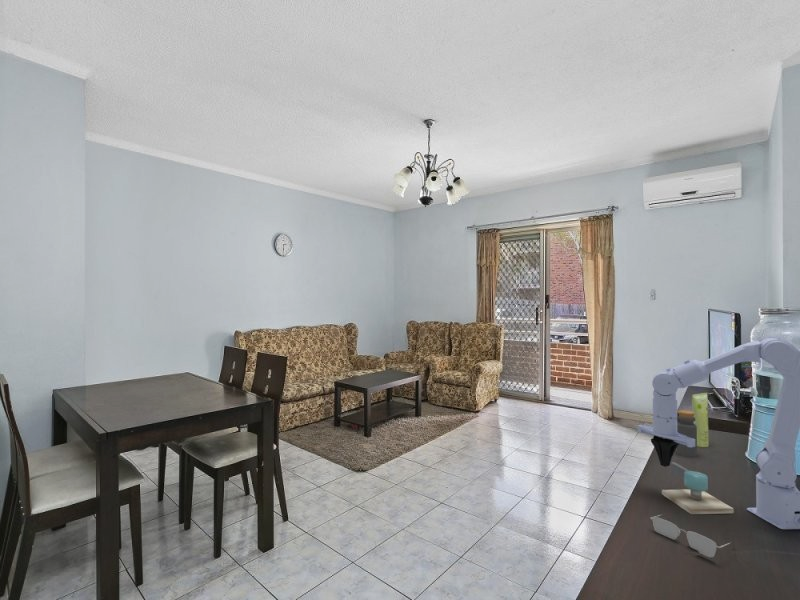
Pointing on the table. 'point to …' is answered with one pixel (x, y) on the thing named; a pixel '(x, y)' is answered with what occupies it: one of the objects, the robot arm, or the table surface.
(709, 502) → the post block
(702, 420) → the tube
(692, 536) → the eyeglasses
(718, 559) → the table surface
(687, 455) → the bottle
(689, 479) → the teal grey handled piece
